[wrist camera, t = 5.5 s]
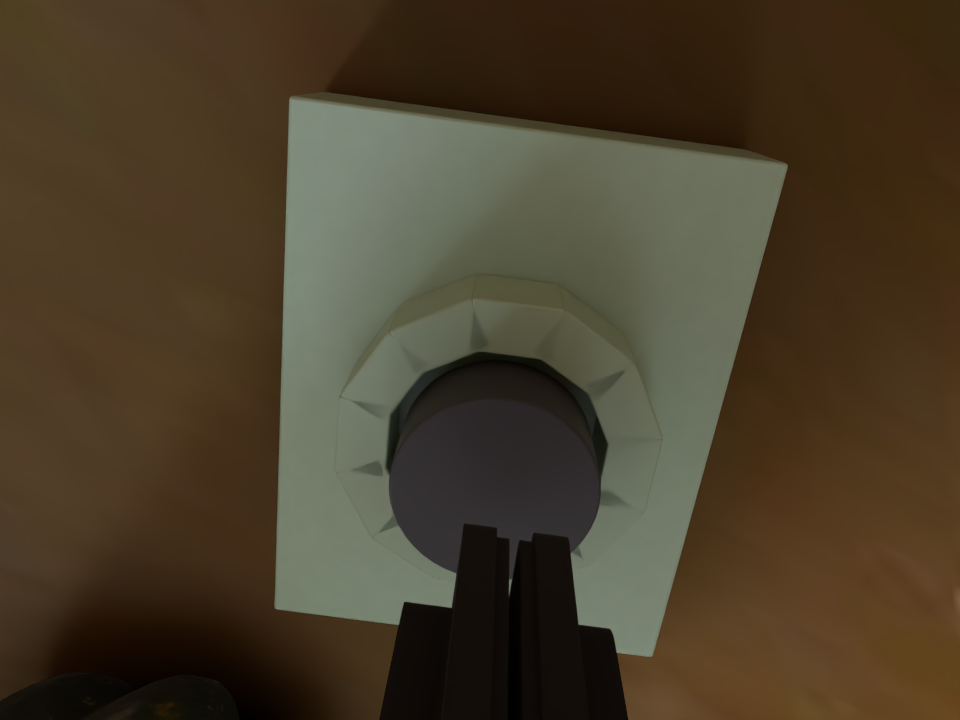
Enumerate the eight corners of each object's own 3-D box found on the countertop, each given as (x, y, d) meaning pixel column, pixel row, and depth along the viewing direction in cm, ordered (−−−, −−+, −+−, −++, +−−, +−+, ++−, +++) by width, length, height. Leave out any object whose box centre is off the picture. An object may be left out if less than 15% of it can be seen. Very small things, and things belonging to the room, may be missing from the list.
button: (410, 346, 16) (397, 383, 14) (607, 372, 16) (620, 413, 14) (394, 514, 18) (380, 567, 16) (573, 537, 18) (580, 593, 16)
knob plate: (321, 91, 19) (259, 98, 14) (748, 149, 19) (826, 175, 14) (300, 547, 24) (250, 662, 19) (636, 590, 24) (667, 715, 19)
